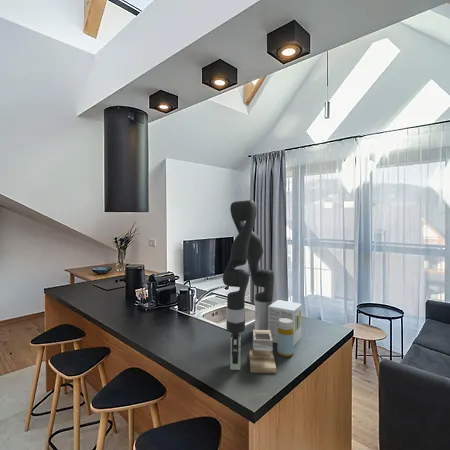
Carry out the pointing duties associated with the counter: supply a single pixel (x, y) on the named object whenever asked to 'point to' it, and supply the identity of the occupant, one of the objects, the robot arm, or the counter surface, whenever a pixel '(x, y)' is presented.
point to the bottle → (285, 337)
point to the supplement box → (284, 311)
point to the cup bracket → (262, 352)
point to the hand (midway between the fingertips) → (235, 358)
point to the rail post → (237, 366)
